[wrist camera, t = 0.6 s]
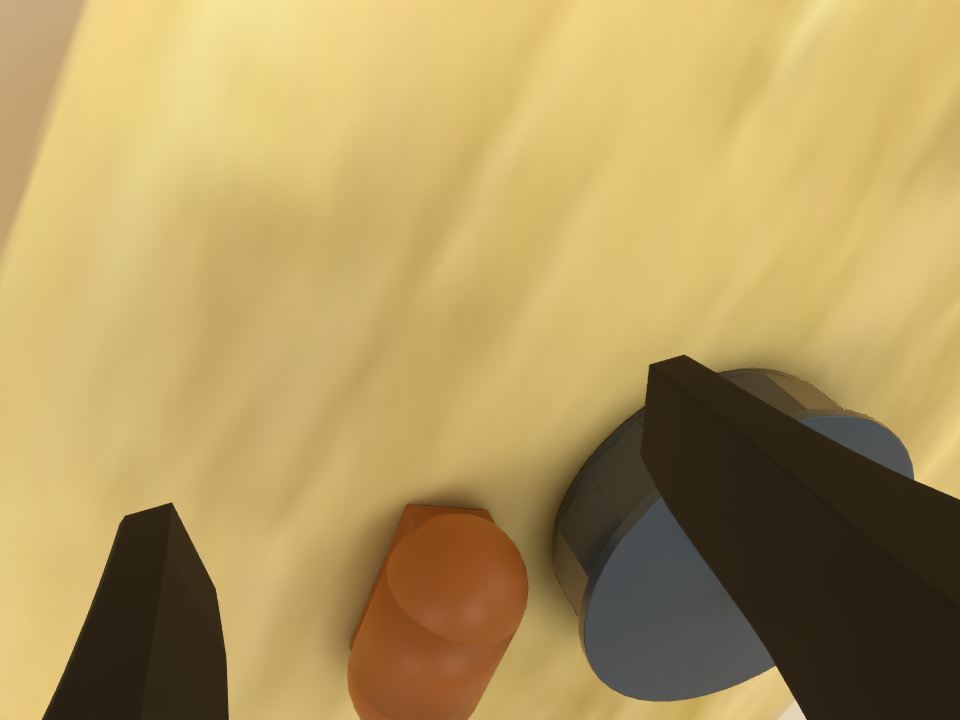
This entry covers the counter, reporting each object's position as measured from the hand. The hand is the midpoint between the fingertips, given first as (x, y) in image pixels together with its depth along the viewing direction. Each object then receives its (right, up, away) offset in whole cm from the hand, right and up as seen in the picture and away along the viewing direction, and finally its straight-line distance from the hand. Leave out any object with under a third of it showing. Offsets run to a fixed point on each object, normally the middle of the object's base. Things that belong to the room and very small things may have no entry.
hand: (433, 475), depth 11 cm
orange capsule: (-2, -6, +17) cm, 18 cm away
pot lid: (+11, -6, +17) cm, 21 cm away
